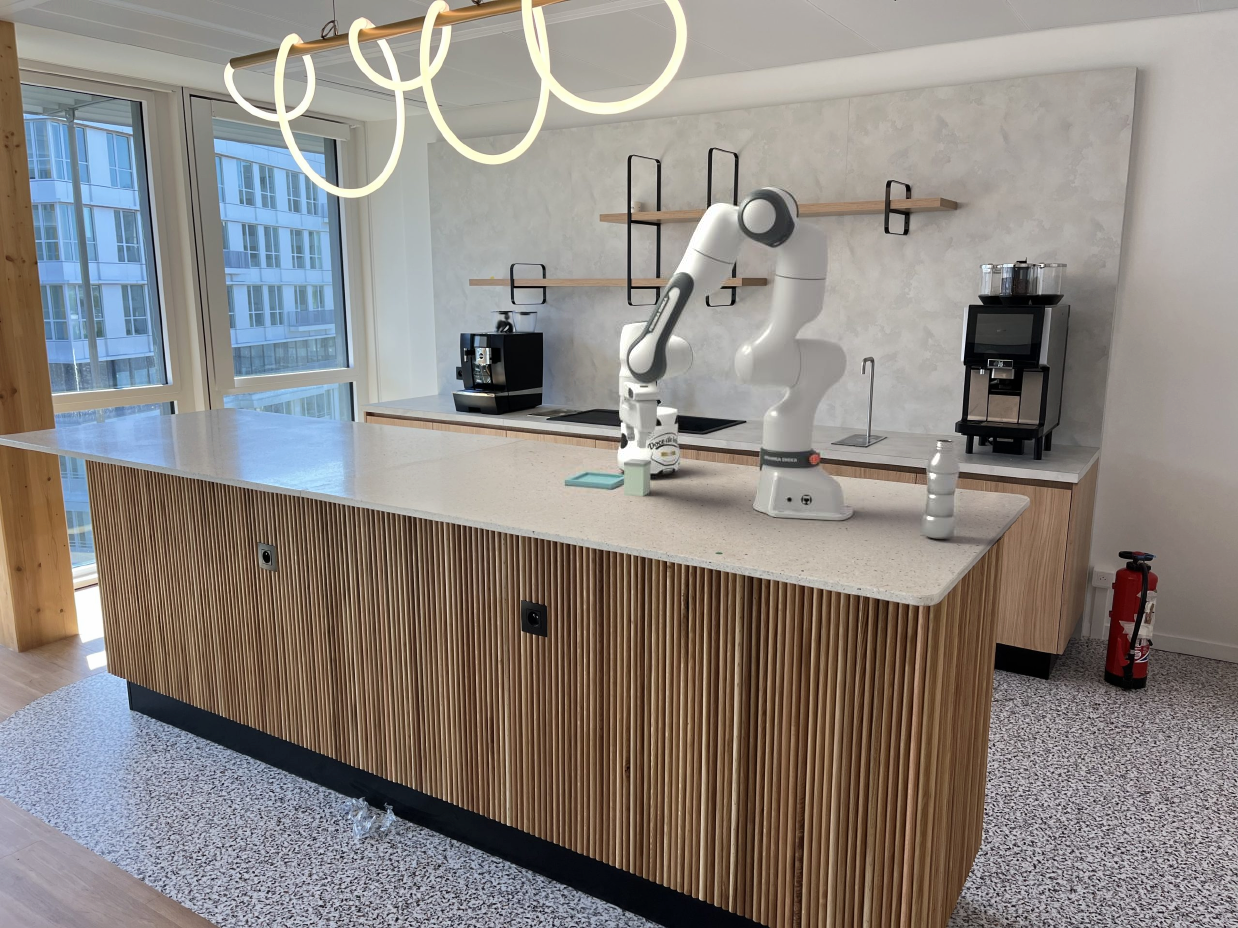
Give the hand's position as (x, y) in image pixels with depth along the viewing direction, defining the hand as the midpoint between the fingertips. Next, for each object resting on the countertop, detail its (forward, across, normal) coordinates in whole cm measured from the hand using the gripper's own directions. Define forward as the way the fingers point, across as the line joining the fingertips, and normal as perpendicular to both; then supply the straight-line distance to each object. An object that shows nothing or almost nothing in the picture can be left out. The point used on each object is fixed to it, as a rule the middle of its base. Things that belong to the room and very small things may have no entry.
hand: (635, 444), depth 219 cm
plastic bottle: (+11, +55, +48) cm, 74 cm away
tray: (+13, -14, -6) cm, 20 cm away
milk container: (+13, -23, +11) cm, 29 cm away
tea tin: (+12, +1, 0) cm, 12 cm away
